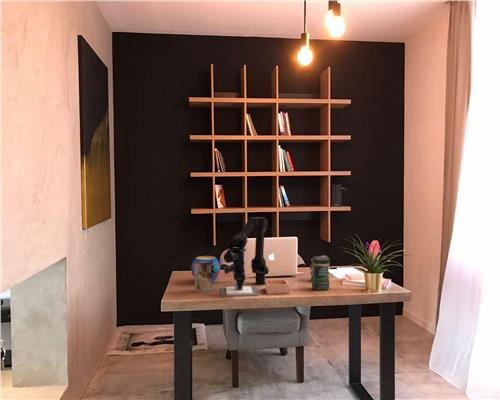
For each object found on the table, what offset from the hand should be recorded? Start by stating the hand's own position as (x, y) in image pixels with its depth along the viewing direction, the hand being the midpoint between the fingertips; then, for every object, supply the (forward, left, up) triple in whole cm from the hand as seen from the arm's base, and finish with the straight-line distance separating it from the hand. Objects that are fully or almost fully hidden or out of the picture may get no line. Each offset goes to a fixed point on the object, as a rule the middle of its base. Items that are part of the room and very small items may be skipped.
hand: (238, 288), depth 233 cm
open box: (-12, +17, -2) cm, 21 cm away
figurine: (-48, +29, -2) cm, 56 cm away
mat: (0, 0, -2) cm, 2 cm away
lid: (0, 0, -2) cm, 2 cm away
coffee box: (+7, -19, -2) cm, 21 cm away
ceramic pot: (-10, -30, -2) cm, 32 cm away
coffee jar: (-29, +37, -2) cm, 47 cm away
